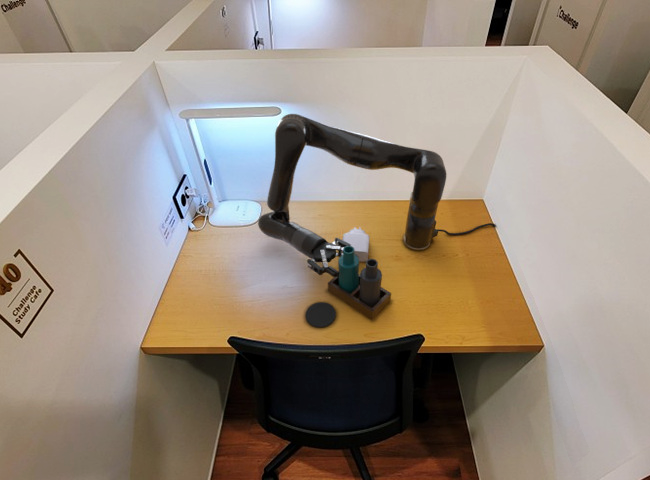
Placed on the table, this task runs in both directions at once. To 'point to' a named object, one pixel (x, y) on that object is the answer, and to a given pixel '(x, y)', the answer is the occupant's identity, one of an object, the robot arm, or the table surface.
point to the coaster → (320, 315)
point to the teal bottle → (348, 270)
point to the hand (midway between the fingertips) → (347, 266)
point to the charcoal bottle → (370, 283)
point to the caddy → (355, 302)
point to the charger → (358, 242)
